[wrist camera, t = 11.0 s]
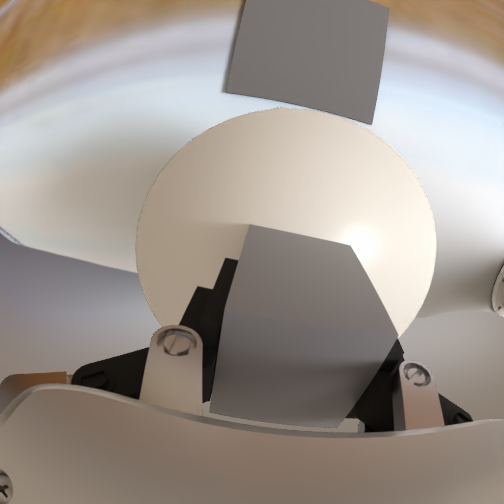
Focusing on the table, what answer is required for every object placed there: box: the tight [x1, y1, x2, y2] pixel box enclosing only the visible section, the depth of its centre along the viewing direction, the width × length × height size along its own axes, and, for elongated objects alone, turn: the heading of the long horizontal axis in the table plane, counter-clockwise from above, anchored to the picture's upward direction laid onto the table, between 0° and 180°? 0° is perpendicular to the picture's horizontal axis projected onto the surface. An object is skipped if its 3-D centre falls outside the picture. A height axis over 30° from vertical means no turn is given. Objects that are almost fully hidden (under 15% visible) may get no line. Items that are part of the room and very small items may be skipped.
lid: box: [135, 107, 436, 428], centre depth 12 cm, size 15×15×10 cm
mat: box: [226, 0, 389, 125], centre depth 22 cm, size 15×15×1 cm
